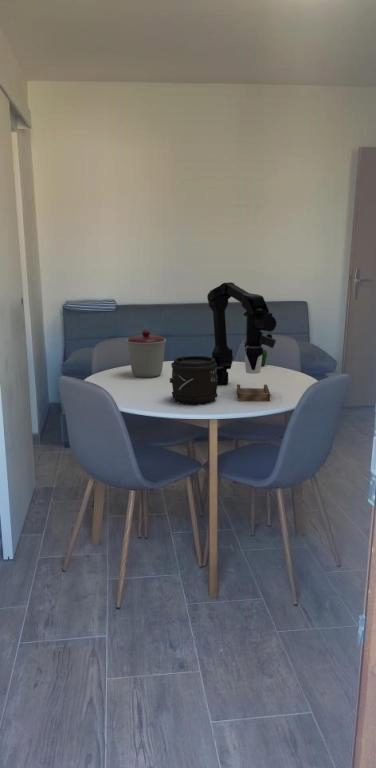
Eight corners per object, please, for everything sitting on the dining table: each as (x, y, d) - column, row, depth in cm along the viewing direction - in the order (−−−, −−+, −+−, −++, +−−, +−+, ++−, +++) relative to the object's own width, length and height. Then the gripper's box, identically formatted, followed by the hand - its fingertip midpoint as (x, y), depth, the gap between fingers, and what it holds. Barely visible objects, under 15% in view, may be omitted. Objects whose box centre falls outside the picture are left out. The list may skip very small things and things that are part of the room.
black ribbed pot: (169, 394, 234) (168, 355, 230) (214, 393, 235) (214, 354, 231) (171, 406, 216) (170, 364, 213) (219, 405, 217) (219, 363, 214)
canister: (151, 381, 257) (150, 333, 253) (119, 377, 267) (117, 330, 262) (174, 374, 272) (173, 328, 268) (142, 370, 282) (141, 326, 277)
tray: (238, 401, 223) (238, 393, 222) (236, 391, 238) (236, 384, 238) (270, 401, 222) (270, 394, 222) (266, 391, 238) (266, 384, 237)
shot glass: (261, 374, 226) (261, 356, 225) (243, 373, 228) (243, 355, 226) (262, 370, 233) (263, 353, 231) (245, 370, 234) (245, 352, 233)
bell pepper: (264, 363, 295) (265, 344, 292) (268, 367, 287) (268, 346, 284) (248, 364, 294) (248, 344, 292) (250, 367, 286) (251, 347, 284)
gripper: (277, 332, 217) (275, 373, 220) (272, 325, 235) (271, 363, 239) (246, 332, 217) (246, 373, 221) (244, 325, 236) (243, 363, 239)
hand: (252, 368), depth 230 cm, fingers closed on shot glass, 6 cm apart
